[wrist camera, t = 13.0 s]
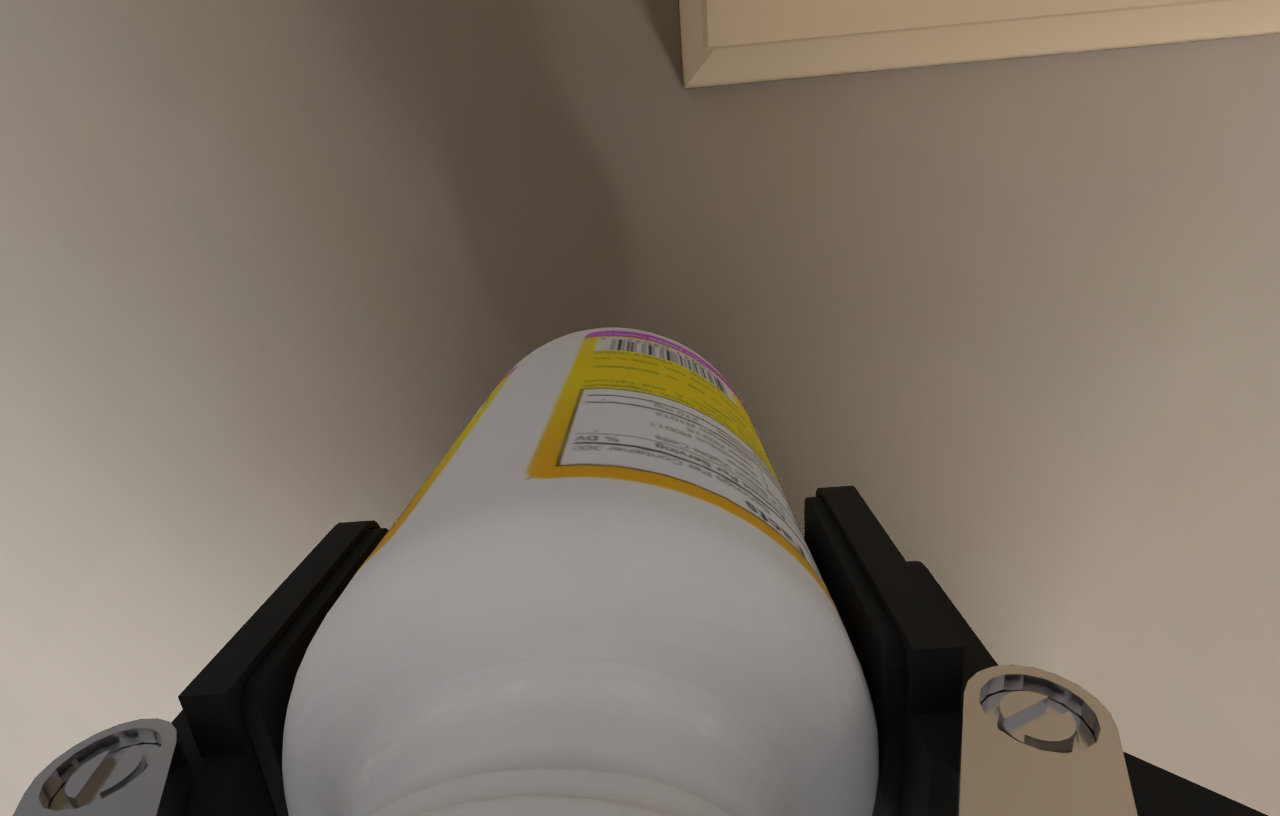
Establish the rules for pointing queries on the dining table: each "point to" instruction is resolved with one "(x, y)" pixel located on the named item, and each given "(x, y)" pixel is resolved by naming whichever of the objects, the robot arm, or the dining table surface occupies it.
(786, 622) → the supplement bottle
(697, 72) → the carton
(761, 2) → the lid
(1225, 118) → the dining table surface
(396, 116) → the dining table surface
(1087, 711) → the robot arm
